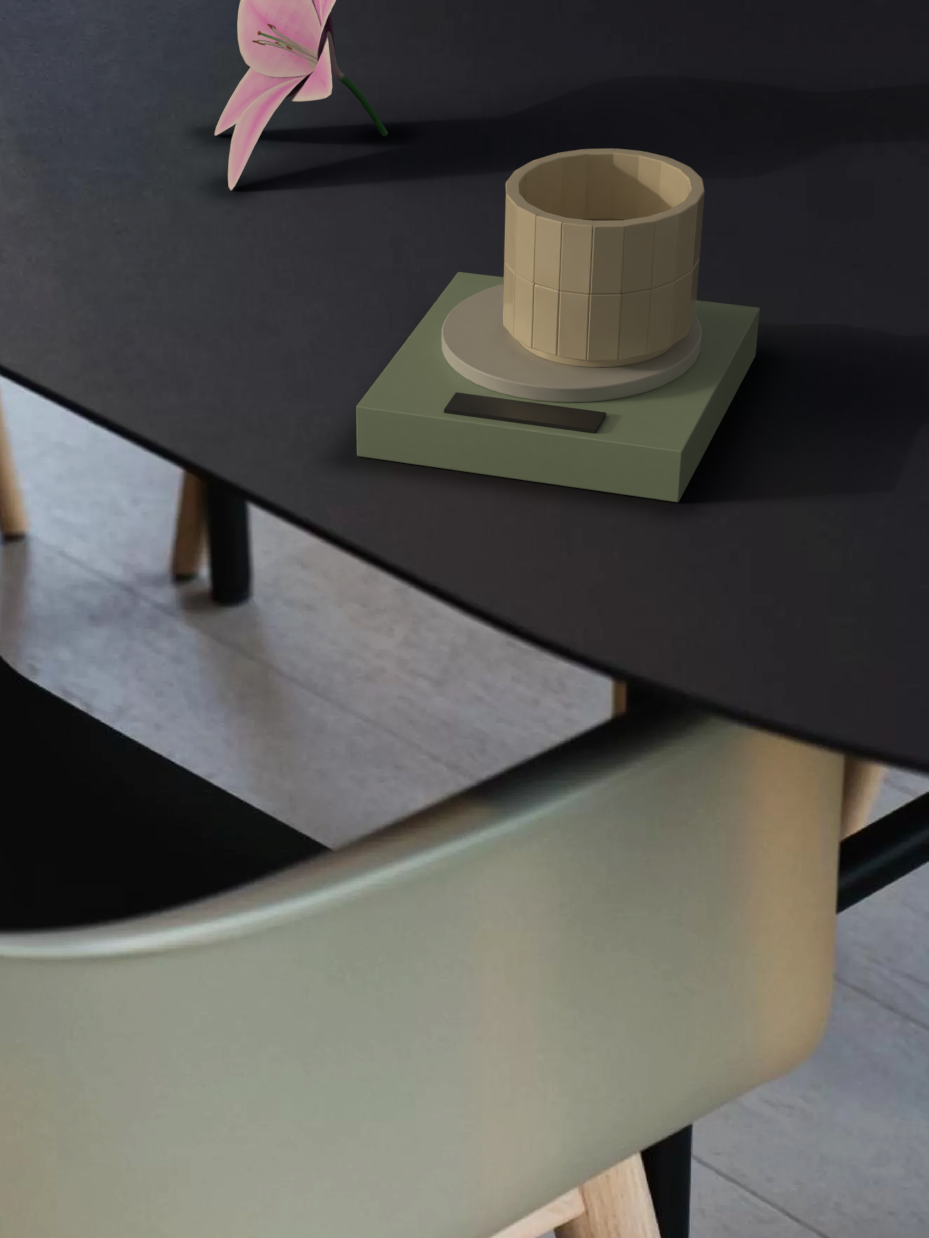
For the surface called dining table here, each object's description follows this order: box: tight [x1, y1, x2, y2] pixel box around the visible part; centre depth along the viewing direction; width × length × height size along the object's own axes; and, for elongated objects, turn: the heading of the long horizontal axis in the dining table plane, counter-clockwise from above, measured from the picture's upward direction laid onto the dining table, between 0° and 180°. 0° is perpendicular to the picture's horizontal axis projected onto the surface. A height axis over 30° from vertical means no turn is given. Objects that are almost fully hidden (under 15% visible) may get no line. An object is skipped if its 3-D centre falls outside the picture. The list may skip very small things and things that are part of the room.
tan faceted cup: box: [502, 147, 706, 367], centre depth 92 cm, size 7×7×6 cm
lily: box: [214, 0, 389, 191], centre depth 113 cm, size 12×12×10 cm
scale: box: [355, 271, 761, 503], centre depth 94 cm, size 12×12×3 cm
